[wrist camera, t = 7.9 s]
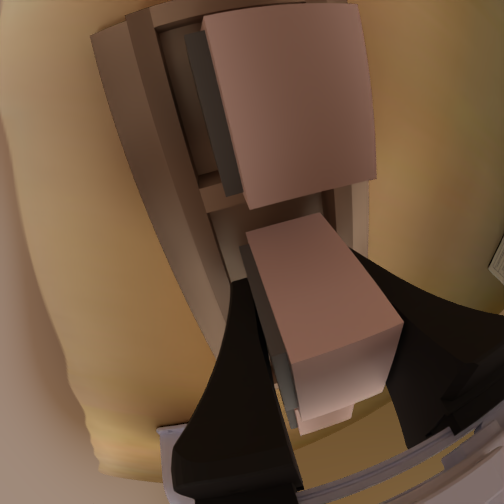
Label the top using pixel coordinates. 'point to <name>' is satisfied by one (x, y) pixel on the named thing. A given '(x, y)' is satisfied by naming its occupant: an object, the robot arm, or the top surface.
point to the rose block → (319, 316)
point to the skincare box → (498, 263)
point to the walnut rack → (242, 133)
